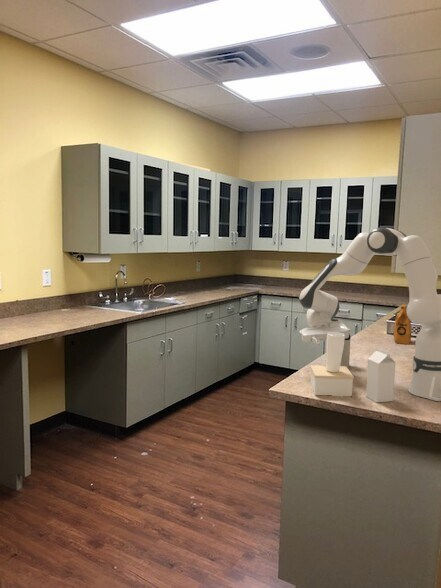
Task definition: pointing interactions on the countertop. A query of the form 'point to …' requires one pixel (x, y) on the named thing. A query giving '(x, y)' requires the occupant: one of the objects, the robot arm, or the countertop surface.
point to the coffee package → (402, 327)
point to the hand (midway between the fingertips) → (329, 342)
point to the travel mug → (346, 352)
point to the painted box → (331, 381)
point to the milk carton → (380, 377)
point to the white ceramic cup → (334, 351)
